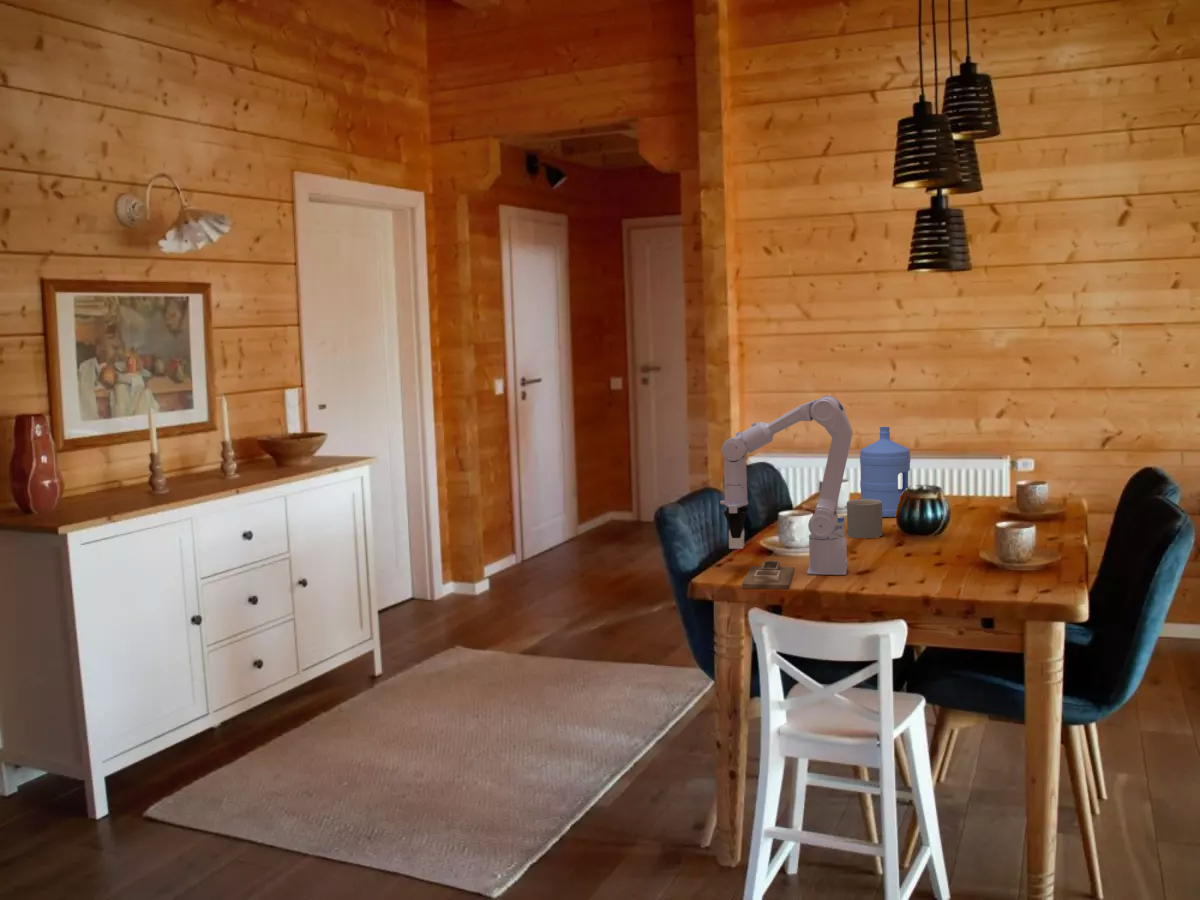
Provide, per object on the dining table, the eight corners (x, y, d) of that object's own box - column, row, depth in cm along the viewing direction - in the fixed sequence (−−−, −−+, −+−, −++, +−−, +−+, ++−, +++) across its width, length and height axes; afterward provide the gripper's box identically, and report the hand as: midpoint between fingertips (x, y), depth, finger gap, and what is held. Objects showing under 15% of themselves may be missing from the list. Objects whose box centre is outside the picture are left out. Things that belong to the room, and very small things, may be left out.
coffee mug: (879, 539, 325) (878, 505, 324) (844, 538, 329) (843, 504, 328) (887, 531, 337) (886, 497, 336) (853, 529, 341) (852, 496, 340)
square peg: (744, 545, 295) (743, 528, 294) (742, 548, 291) (742, 531, 291) (730, 545, 295) (730, 528, 295) (729, 548, 292) (728, 531, 292)
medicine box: (819, 550, 313) (818, 519, 312) (811, 548, 317) (811, 517, 316) (845, 548, 315) (844, 517, 314) (837, 545, 319) (837, 514, 318)
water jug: (865, 519, 358) (864, 430, 355) (856, 510, 373) (855, 425, 370) (916, 517, 357) (915, 428, 354) (904, 509, 373) (903, 424, 370)
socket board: (794, 570, 290) (794, 560, 289) (788, 589, 270) (788, 578, 270) (750, 569, 292) (750, 560, 292) (742, 588, 273) (742, 577, 273)
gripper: (723, 480, 299) (725, 531, 301) (716, 488, 285) (717, 541, 287) (750, 479, 298) (751, 531, 299) (744, 488, 284) (745, 541, 285)
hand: (737, 536), depth 293 cm, fingers closed on square peg, 3 cm apart
